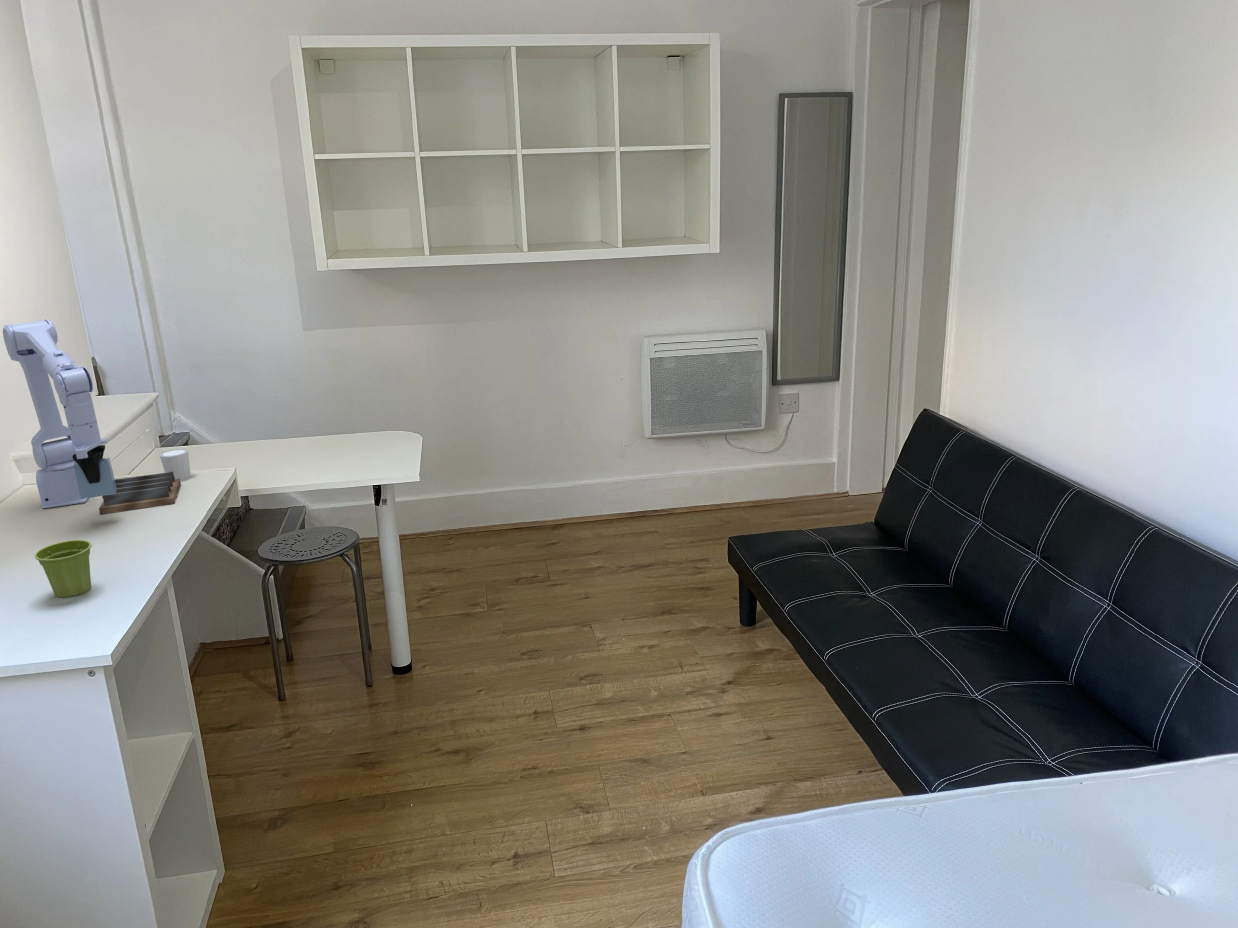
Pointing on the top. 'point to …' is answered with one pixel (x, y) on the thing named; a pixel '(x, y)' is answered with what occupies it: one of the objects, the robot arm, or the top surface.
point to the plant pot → (67, 567)
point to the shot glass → (176, 463)
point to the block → (96, 489)
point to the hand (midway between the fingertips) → (95, 480)
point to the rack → (141, 493)
